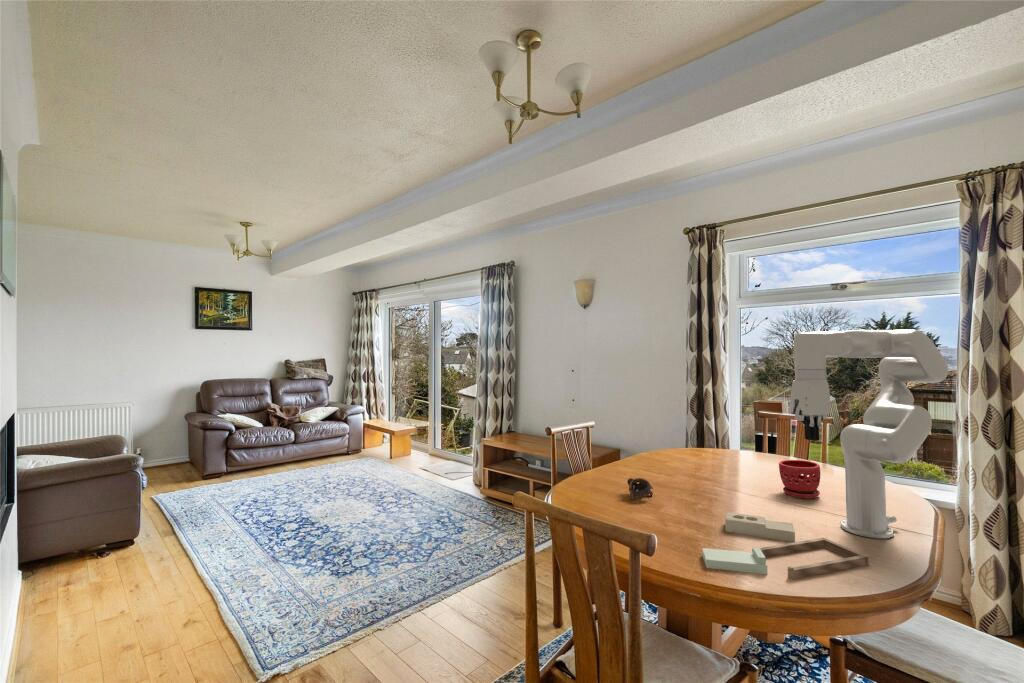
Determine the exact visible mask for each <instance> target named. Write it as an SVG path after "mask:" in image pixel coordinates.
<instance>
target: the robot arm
mask: <svg viewBox="0 0 1024 683" xmlns="http://www.w3.org/2000/svg"><path fill="white" fill-rule="evenodd" d="M793 354H794V355H793V356H794V359H793V360H794V380H792V382H791V389H790V401H789V404H790V406H789V407H790V413H791V414H792V415H794V420H796V421H801V423H802V425H803V426H804V440H807V441H811V442H819V441H820V427H821V426H822V422H823V420H825V419H828V418H829V414H831V394H830V388H829V382H828V380H827V358H844V359H845V358H846V359H847V358H848V359H850V358H851V359H867V358H868V359H869V358H870V359H871V358H873V359H875V358H877V359H878V358H881V360H880V362H879V364H878V374H879V380H880V392H879V393H878V395H877V396H876V397H875V398H874V400H873V401H872V403H871V404H870V405H869V406H868V407H867V409H866V411H865V412H864V414H863V415H862V416H863V417H862V421H863V424H861V423H860V424H854V423H853V424H849V425H847V426H845V427H844V428H843V429H842V431H841V432H840V435H839V436H840V437H839V438H840V446H841V449H842V453H843V454H842V455H843V458H844V470H845V478H844V479H845V507H846V508H845V512H846V514H845V515H846V517H845V518H846V519H843V520H841V521H840V527H841V528H842V529H843V530H844V531H847V532H849V533H851V534H854V535H858V536H861V537H865V538H871V539H880V540H881V539H890V537H891V538H892V537H894V530H893V529H892V528H891V527H889V524H892V523H896V522H897V517H896V516H895V515H887V500H886V499H887V498H886V496H887V495H886V474H885V473H886V472H885V470H884V468H883V466H882V464H881V463H880V461H881V462H882V461H883V462H888V463H892V464H905V463H907V462H910V460H911V459H913V457H914V455H915V454H916V452H917V451H918V450H919V449H920V448H921V446H922V445H923V443H924V442H925V440H926V439H927V437H928V435H929V434H930V432H931V430H932V425H933V424H932V423H933V420H932V416H931V414H930V412H929V411H928V410H927V409H926V408H924V407H923V406H921V405H915V404H914V403H915V402H914V401H915V398H914V395H913V393H912V391H910V390H909V388H908V387H907V386H906V384H905V383H906V382H907V383H923V384H938V383H941V382H943V381H944V380H946V378H947V377H948V375H949V366H948V362H947V360H946V359H945V357H944V356H943V354H942V353H941V351H939V349H938V347H937V346H936V345H935V343H934V342H933V340H932V339H930V338H929V336H928V335H926V334H925V333H924V332H923V331H920V330H919V329H911V328H910V329H893V330H892V329H885V330H884V329H879V330H878V329H876V330H875V329H871V330H870V329H852V330H842V331H839V330H829V331H826V330H825V331H807V332H806V331H804V332H798V333H796V334H794V337H793Z"/></svg>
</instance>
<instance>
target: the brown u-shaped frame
mask: <svg viewBox="0 0 1024 683" xmlns="http://www.w3.org/2000/svg"><path fill="white" fill-rule="evenodd" d="M759 548H760V550H761V551H762V553H763V554H764V556H765V558H768V557H774V556H780V555H787V554H793V553H798V552H804V551H805V552H806V551H810V550H815V549H821V548H825V549H827V550H830V551H832V552H834V553H837V554H839V555H841V556H843V558H837V559H833V560H827V561H823V562H816V563H811V564H805V565H800V566H795V567H794V566H792V565H790V566H788V567H787V577H788V578H789V579H791V580H795V579H801V578H806V577H811V576H816V575H822V574H826V573H832V572H837V571H838V572H839V571H844V570H848V569H854V568H859V567H864V566H868V565H870V562H869V561H870V560H869V556H868V555H865V554H863V553H861V552H859V551H856V550H853V549H851V548H848V547H846V546H845V545H842V544H840V543H838V542H835V541H832V540H830V539H827V538H826V537H819V538H814V539H807V540H801V541H795V542H789V543H783V544H776V545H770V546H764V547H759ZM751 552H752V553H753V548H751Z"/></svg>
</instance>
